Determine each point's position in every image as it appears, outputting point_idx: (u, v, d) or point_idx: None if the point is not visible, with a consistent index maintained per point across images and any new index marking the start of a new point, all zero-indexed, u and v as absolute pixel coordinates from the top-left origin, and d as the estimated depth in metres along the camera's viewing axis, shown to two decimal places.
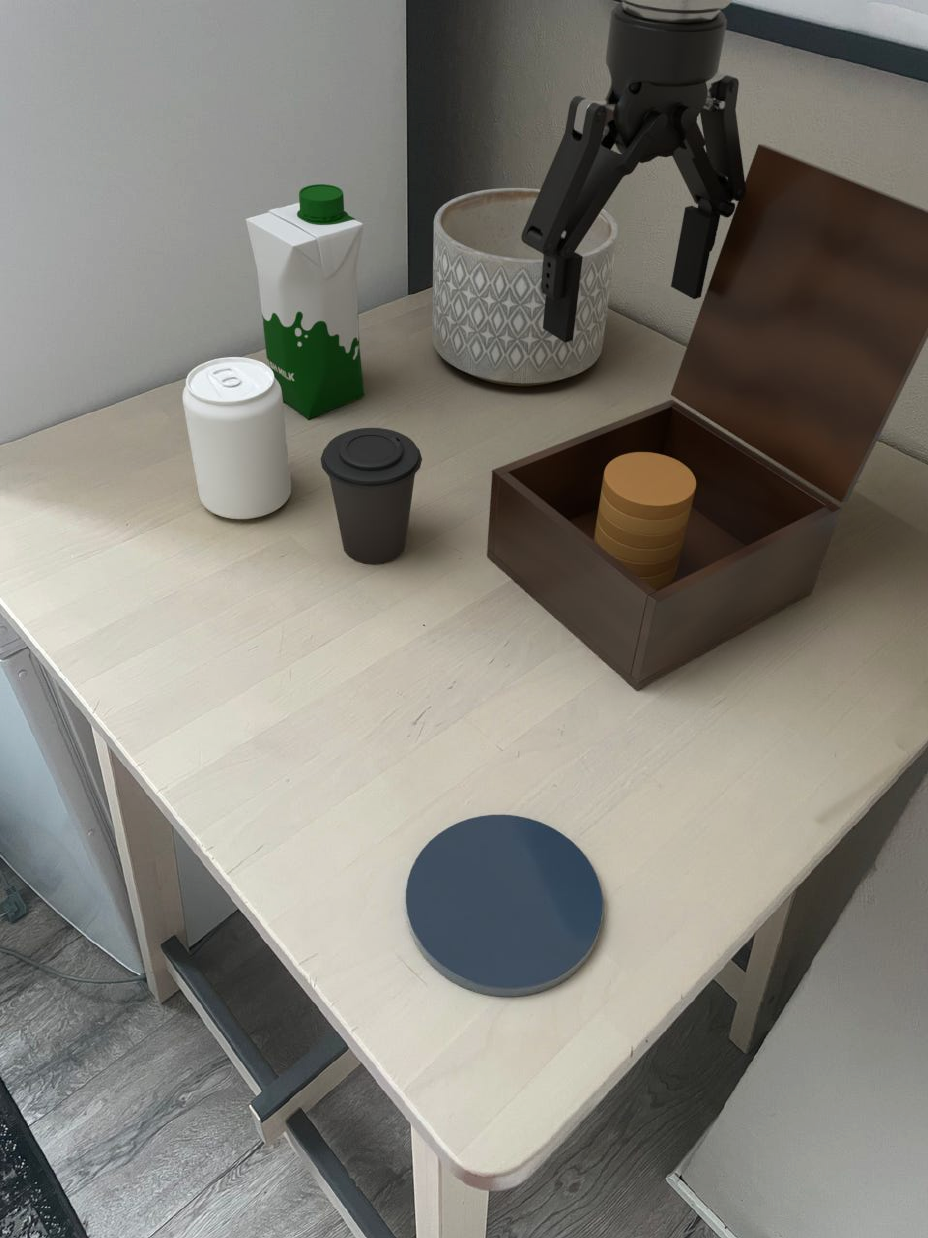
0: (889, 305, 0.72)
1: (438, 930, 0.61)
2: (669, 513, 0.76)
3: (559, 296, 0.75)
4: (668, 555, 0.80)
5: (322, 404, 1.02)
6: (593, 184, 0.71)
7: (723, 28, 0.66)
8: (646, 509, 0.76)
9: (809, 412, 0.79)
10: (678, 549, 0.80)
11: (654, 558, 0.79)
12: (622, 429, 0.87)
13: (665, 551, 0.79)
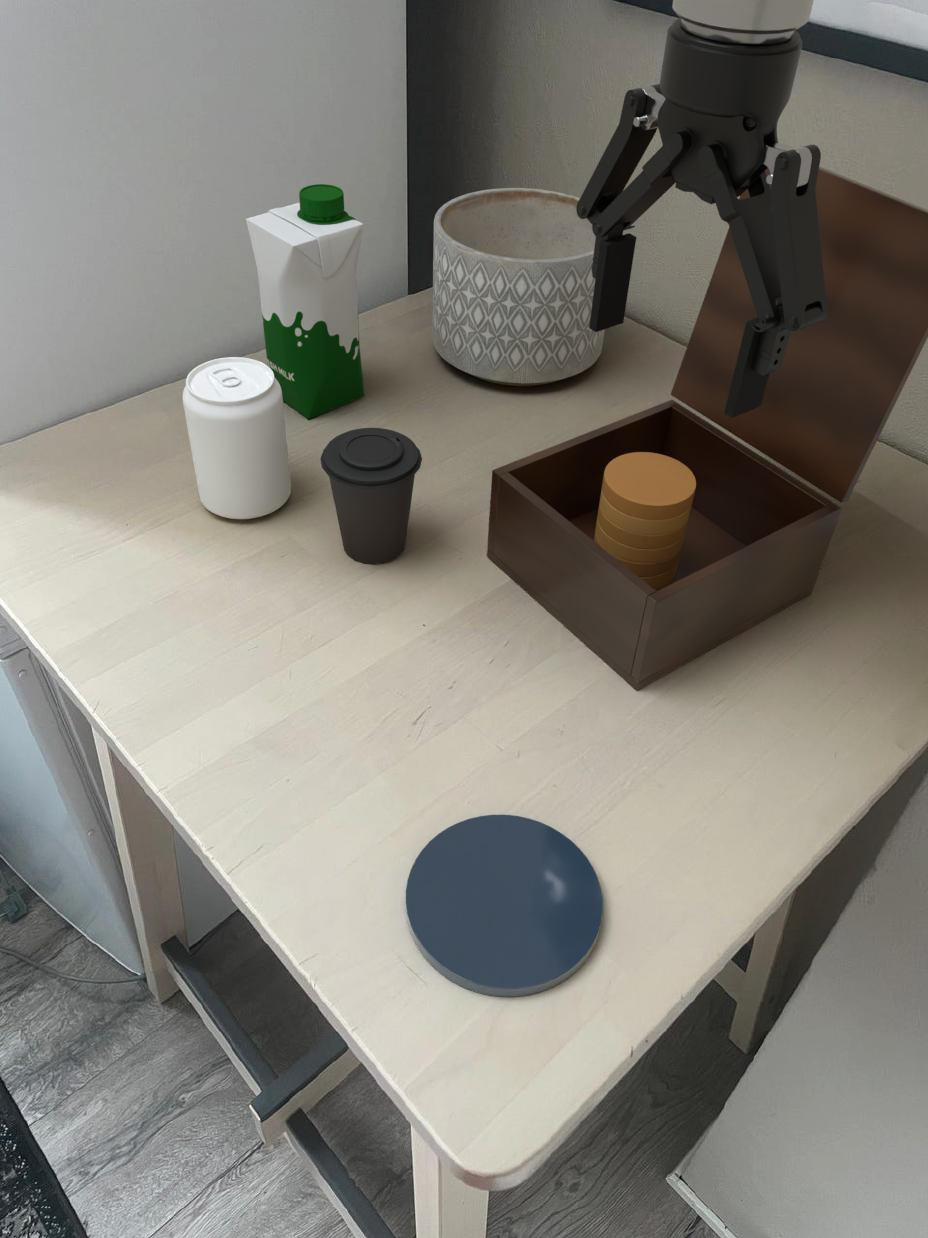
0: (889, 305, 0.72)
1: (438, 930, 0.61)
2: (669, 513, 0.76)
3: None
4: (668, 555, 0.80)
5: (322, 404, 1.02)
6: (769, 237, 0.61)
7: None
8: (646, 509, 0.76)
9: (809, 412, 0.79)
10: (678, 549, 0.80)
11: (654, 558, 0.79)
12: (622, 429, 0.87)
13: (665, 551, 0.79)
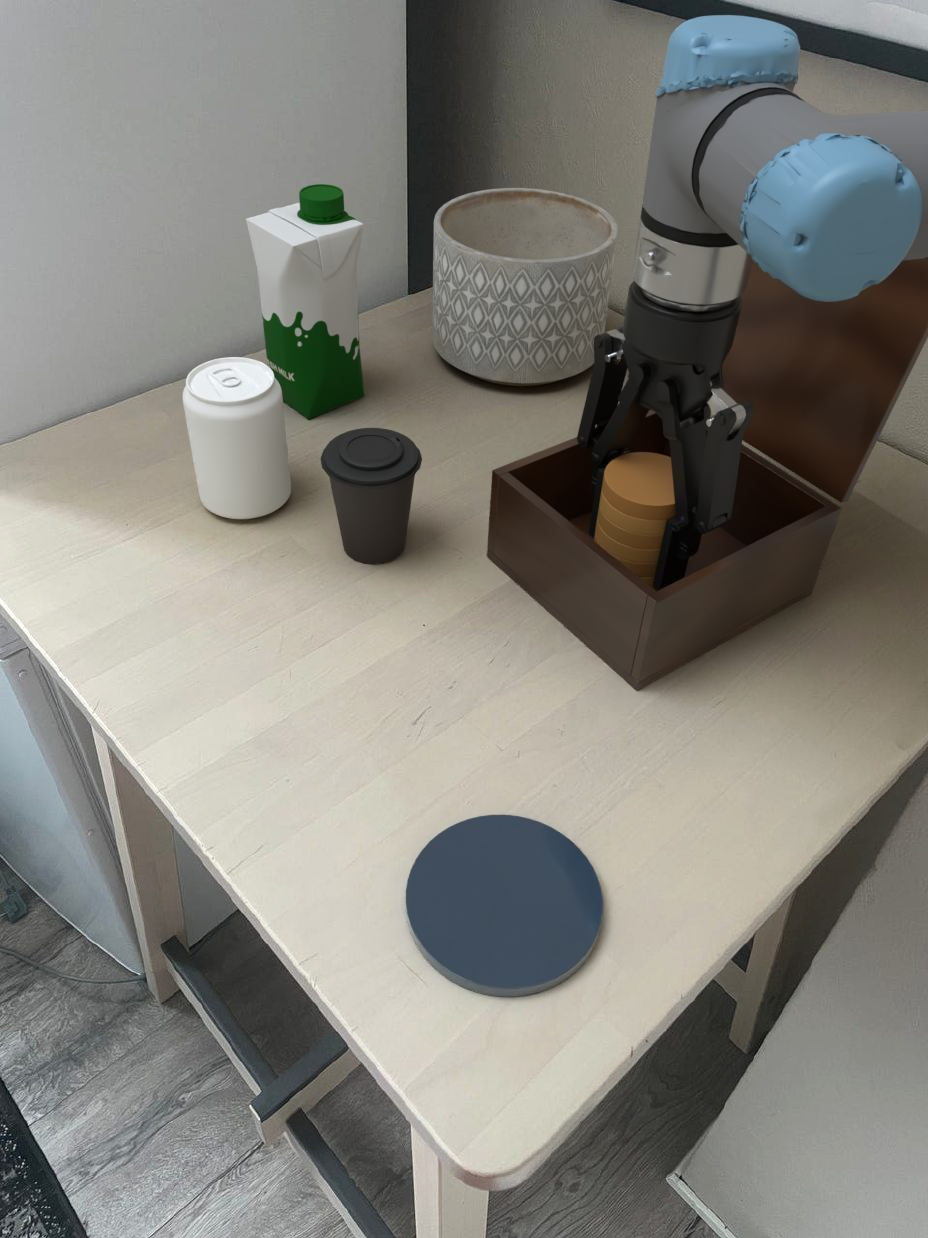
0: (889, 305, 0.72)
1: (438, 930, 0.61)
2: (669, 513, 0.76)
3: None
4: None
5: (322, 404, 1.02)
6: (699, 457, 0.74)
7: None
8: (646, 509, 0.76)
9: (809, 412, 0.79)
10: None
11: (654, 558, 0.79)
12: None
13: None
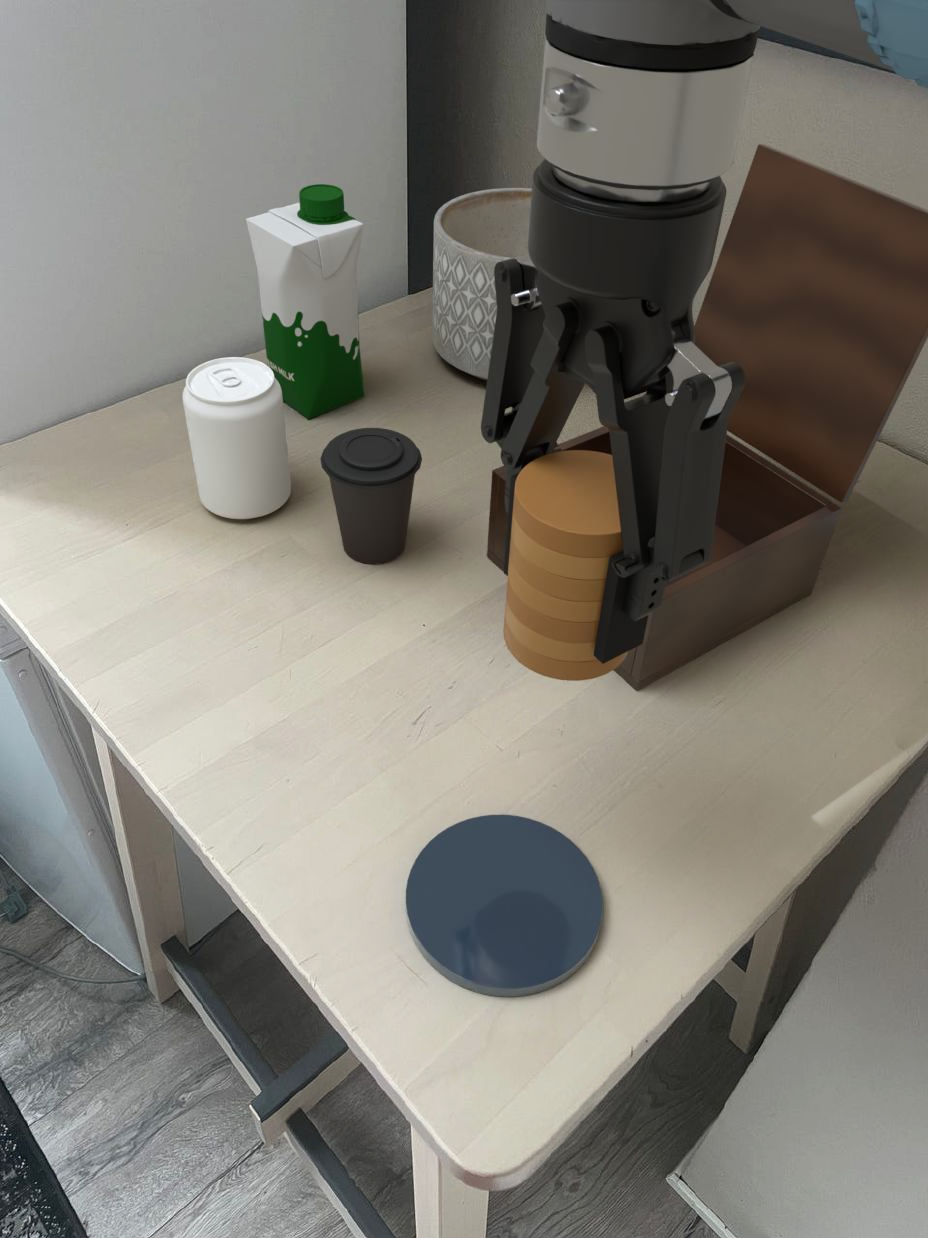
0: (889, 305, 0.72)
1: (438, 930, 0.61)
2: (614, 547, 0.48)
3: None
4: None
5: (322, 404, 1.02)
6: (658, 457, 0.45)
7: None
8: (576, 540, 0.48)
9: (809, 412, 0.79)
10: None
11: (593, 615, 0.51)
12: None
13: None
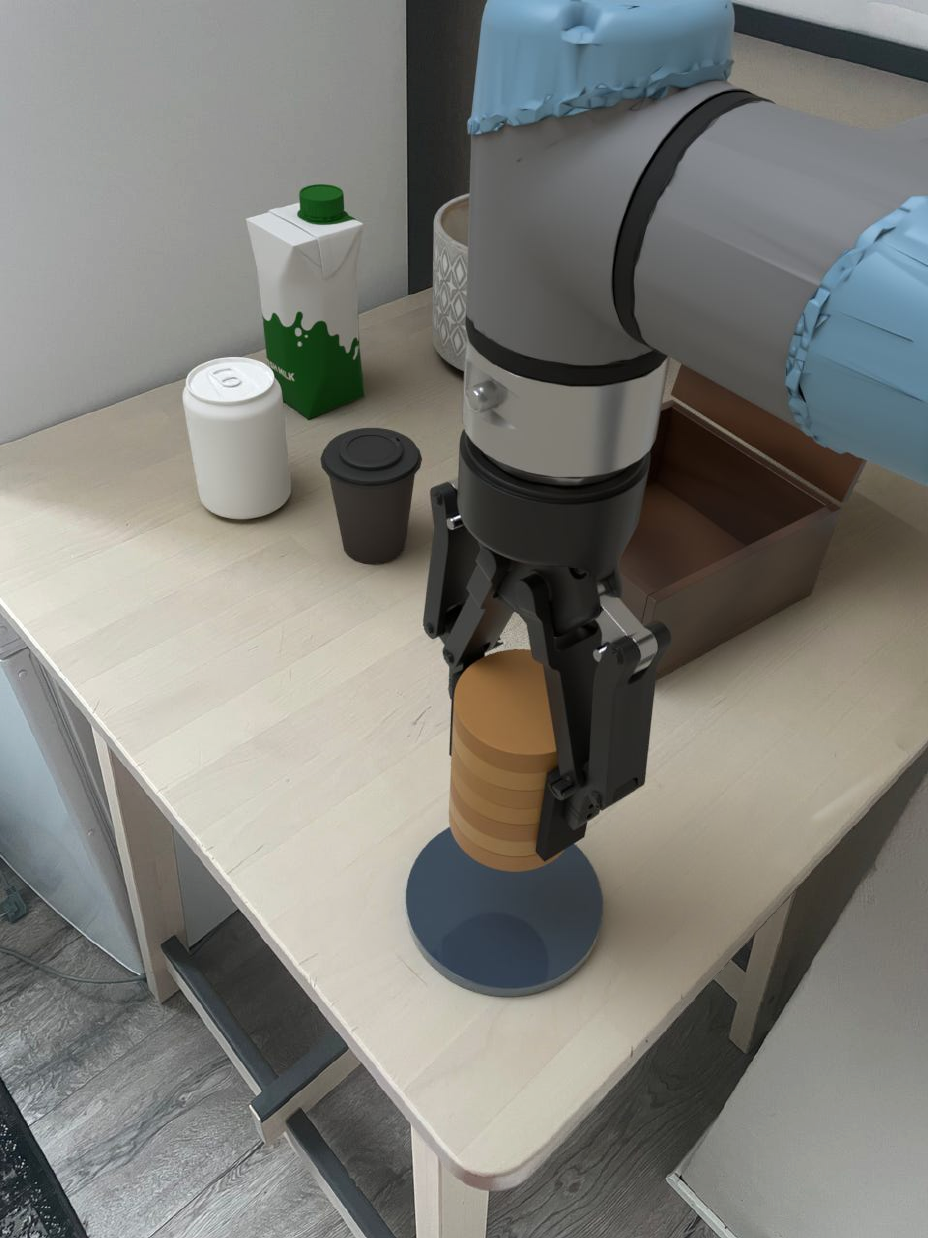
0: None
1: (438, 930, 0.61)
2: (551, 763, 0.49)
3: None
4: None
5: (322, 404, 1.02)
6: (592, 689, 0.46)
7: None
8: (513, 759, 0.48)
9: None
10: None
11: (534, 819, 0.51)
12: None
13: None
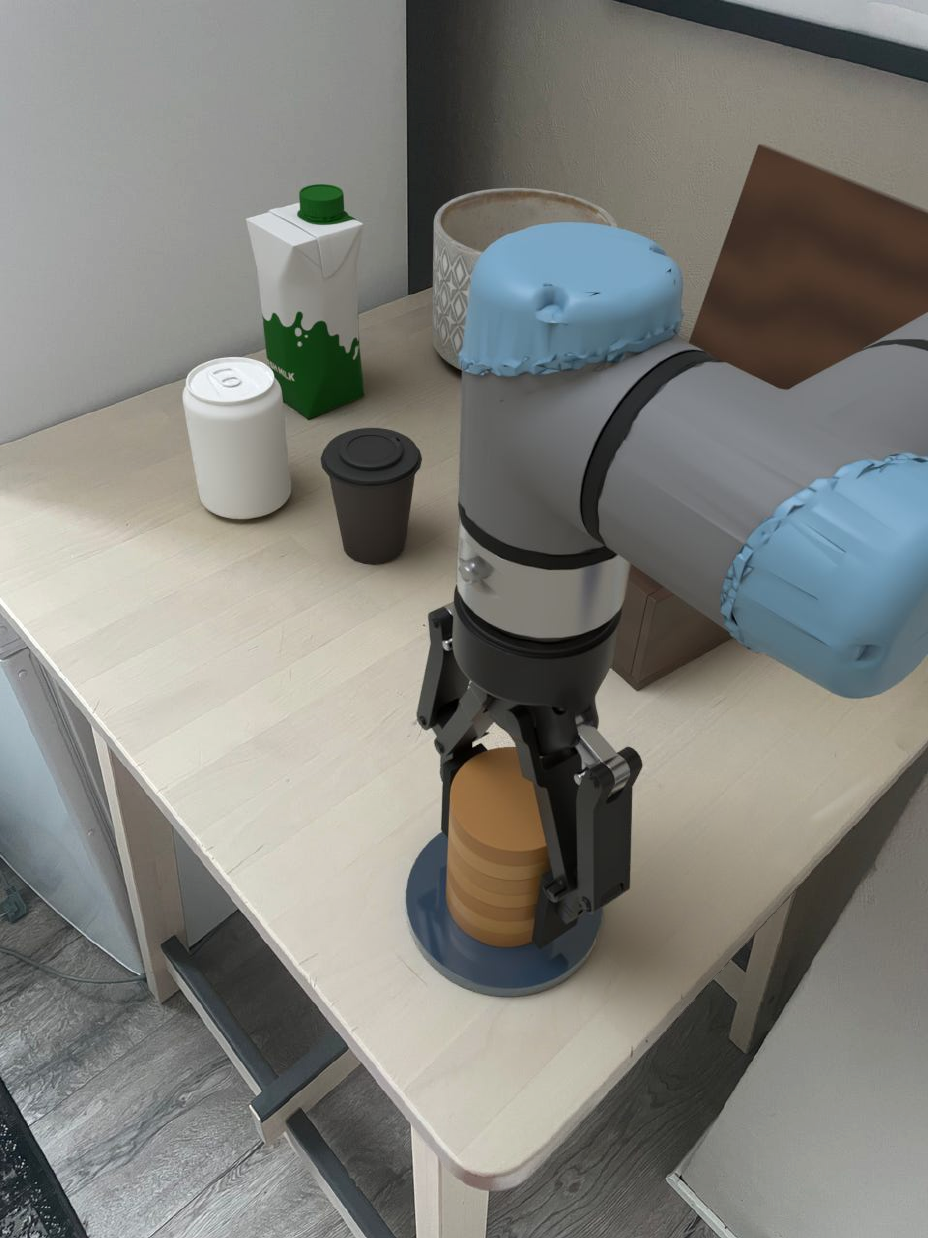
0: (889, 305, 0.72)
1: (438, 930, 0.61)
2: (537, 857, 0.54)
3: None
4: None
5: (322, 404, 1.02)
6: None
7: None
8: (503, 854, 0.54)
9: None
10: None
11: (522, 903, 0.57)
12: None
13: (538, 894, 0.57)
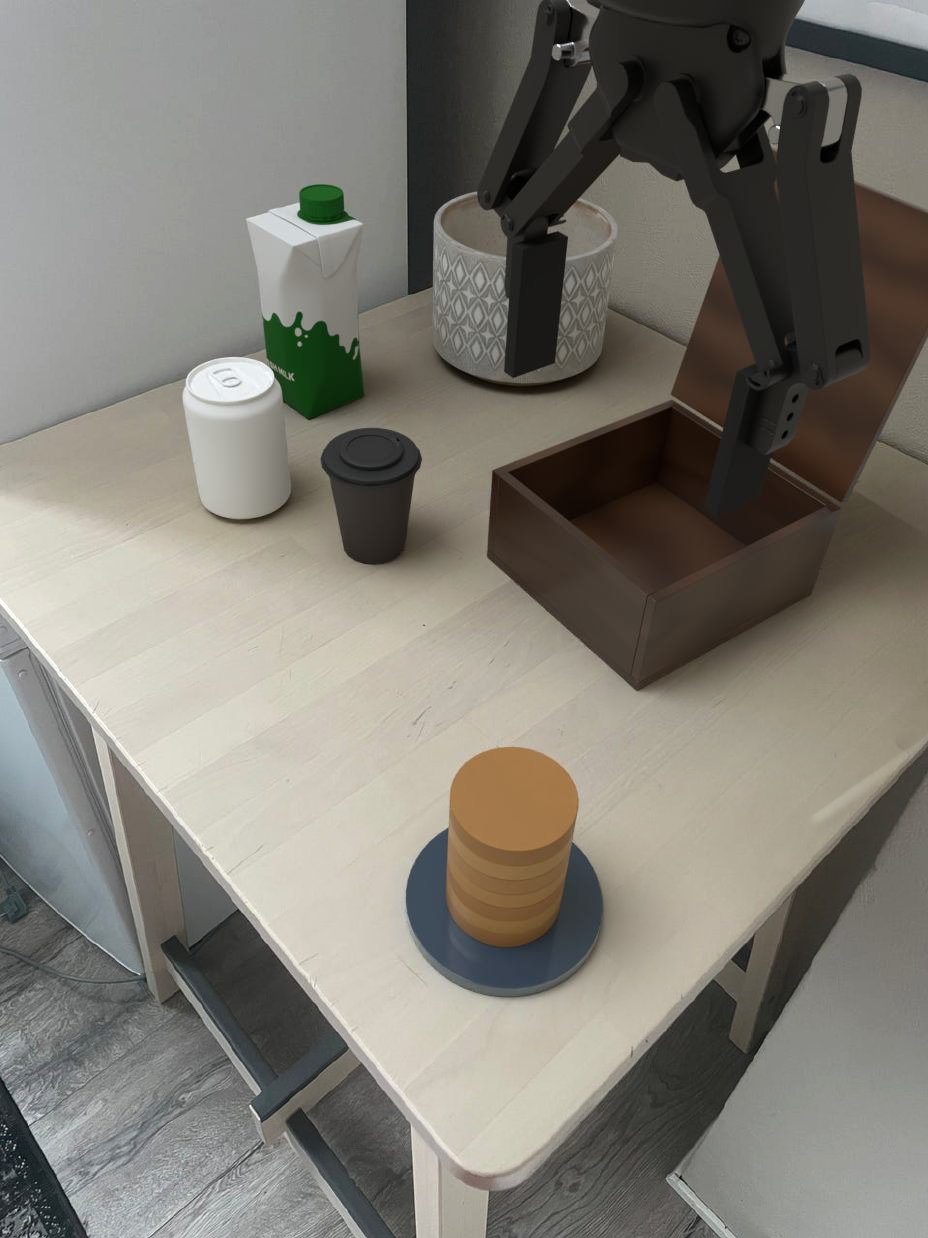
0: (889, 305, 0.72)
1: (438, 930, 0.61)
2: (537, 857, 0.54)
3: None
4: (543, 896, 0.57)
5: (322, 404, 1.02)
6: (773, 234, 0.37)
7: None
8: (503, 854, 0.54)
9: (809, 412, 0.79)
10: (558, 884, 0.58)
11: (522, 903, 0.57)
12: (622, 429, 0.87)
13: (537, 894, 0.57)
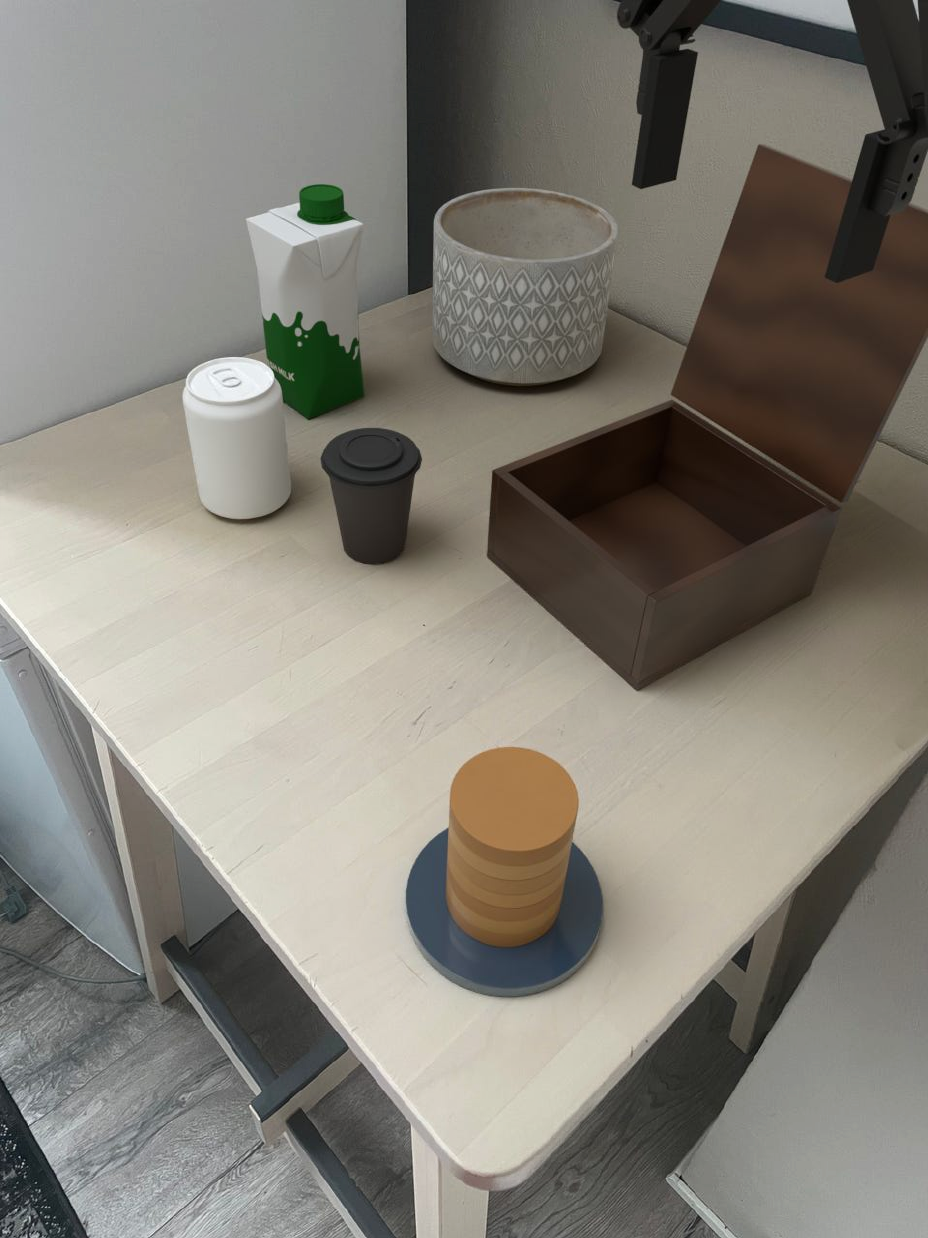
0: (889, 305, 0.72)
1: (438, 930, 0.61)
2: (537, 857, 0.54)
3: None
4: (543, 896, 0.57)
5: (322, 404, 1.02)
6: (902, 7, 0.43)
7: None
8: (503, 854, 0.54)
9: (809, 412, 0.79)
10: (558, 884, 0.58)
11: (522, 903, 0.57)
12: (622, 429, 0.87)
13: (537, 894, 0.57)
